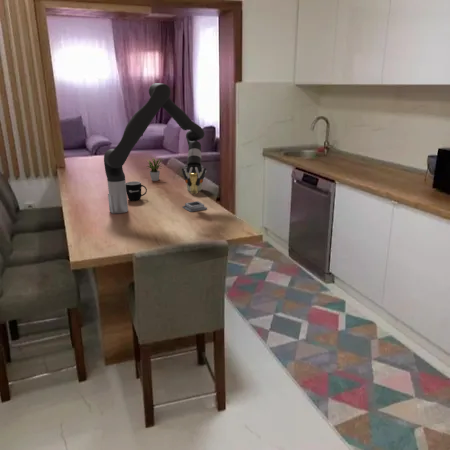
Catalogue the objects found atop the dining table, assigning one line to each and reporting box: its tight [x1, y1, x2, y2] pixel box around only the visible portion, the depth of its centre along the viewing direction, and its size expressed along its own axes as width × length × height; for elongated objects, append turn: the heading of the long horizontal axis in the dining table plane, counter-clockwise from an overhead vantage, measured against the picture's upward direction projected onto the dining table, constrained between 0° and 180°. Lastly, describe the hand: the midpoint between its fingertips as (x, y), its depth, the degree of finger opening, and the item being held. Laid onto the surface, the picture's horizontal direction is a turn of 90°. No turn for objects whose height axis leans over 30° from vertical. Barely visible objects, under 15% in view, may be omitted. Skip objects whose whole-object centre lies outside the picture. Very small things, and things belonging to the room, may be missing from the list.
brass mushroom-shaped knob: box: [189, 172, 199, 195], centre depth 233 cm, size 5×5×11 cm
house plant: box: [145, 157, 163, 182], centre depth 303 cm, size 14×14×16 cm
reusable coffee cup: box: [183, 164, 204, 192], centre depth 275 cm, size 13×13×15 cm
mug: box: [126, 180, 148, 202], centre depth 256 cm, size 12×9×10 cm
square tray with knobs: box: [182, 200, 208, 213], centre depth 237 cm, size 10×10×3 cm
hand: (193, 185), depth 232 cm, fingers closed on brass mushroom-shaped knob, 4 cm apart
